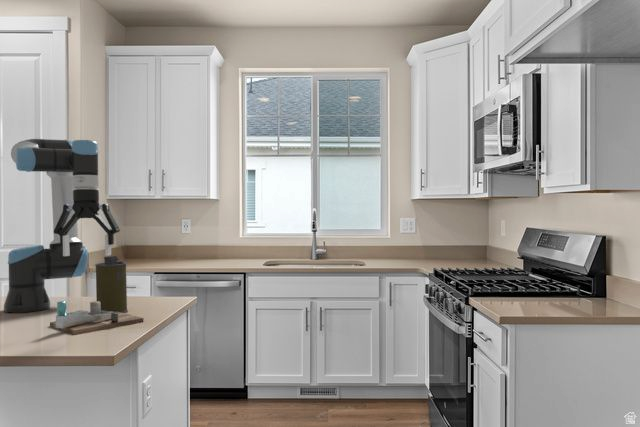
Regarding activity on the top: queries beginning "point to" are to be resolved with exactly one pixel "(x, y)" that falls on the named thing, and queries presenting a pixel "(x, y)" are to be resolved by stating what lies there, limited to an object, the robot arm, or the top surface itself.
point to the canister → (111, 285)
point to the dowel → (114, 317)
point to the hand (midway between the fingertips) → (87, 255)
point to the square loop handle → (77, 316)
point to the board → (95, 310)
